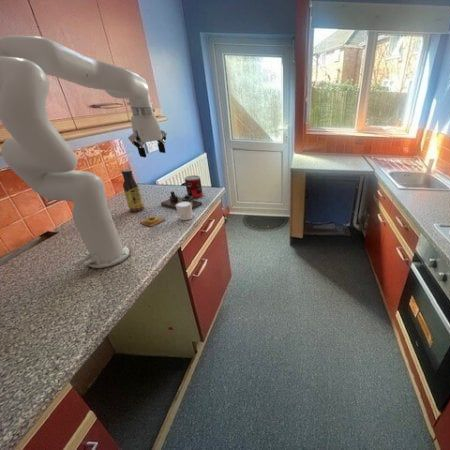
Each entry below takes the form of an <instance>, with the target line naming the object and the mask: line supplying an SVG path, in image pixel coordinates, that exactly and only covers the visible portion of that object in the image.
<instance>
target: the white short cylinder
mask: <svg viewBox="0 0 450 450" xmlns="http://www.w3.org/2000/svg"><path fill="white" fill-rule="evenodd" d="M175 206H176V209H175V210H176V212H177V214H178V217H179V220H181V221H188V220H191V219H192V218H193V210H192V205H191V202H186V201H185V202H179V203H177V204H176V205H175Z"/></svg>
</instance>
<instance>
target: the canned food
mask: <svg viewBox="0 0 450 450" xmlns="http://www.w3.org/2000/svg"><path fill="white" fill-rule="evenodd" d="M184 184H185V188H186V193H187V195H189V196H192V197H193V199H199V198H201V197H203V193H204V192H203V186H202V181H201V176H199V175H196V174H195V175H188V176H185V177H184Z"/></svg>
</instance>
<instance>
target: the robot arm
mask: <svg viewBox="0 0 450 450" xmlns="http://www.w3.org/2000/svg"><path fill="white" fill-rule="evenodd" d="M48 76H51V77H55V78H58V79H61V80H64V81H67V82H70V83H72V84H76V85H78V86H82V87H84V88H88V89H92V90H101V91H105V92H106V94H107V95H108V96H110V97H113V98H115V99H123V100H124V99H125V100H128V103H129V105H130V110H131V113H132V115H131V116H130V123H131V129H132V133H131V134H130V135H129V136H128V137H127V139H128V140H129V141H130V143H131V144H132V145H133V146H135V148H137V151H138V152H137V153H138V155H139V157H140V158H147V153H146V149H145V147H143V146H144V145H145V143H149V142H157V147H158V152H159V153H162V154H166V153H167V151H166V148H165V143H166V140H167V134H168V133H167V132H166V131H164V130H162V129H161V127H160V124H159V121H158V119H157V116H156V115H155V112H156V110H155V108H153V104H152V100H151V95H150V89H149V85H148V83H147V80H146V79H145V78H144V77H142V76H141V75H139V74H138V73H135V72H133V71H131V70H129V69H127V68H124V67H122V66H121V67H120V66H117V65H114V64H111V63H108V62H105V61H101V60H98V59H94V58H91V57H89V56H86V55H84V54H82V53H79V52H77V51H76V50H74V49H71V48H69V47H67V46H65V45H63V44H61V43H58V42H57V41H54V40H52V39H49V38H47V37H45V36H44V37H43V36H39V35H5V36H2V37H0V122H1V124H2V126H3V127H4V129H5V130H6V131H7V132H8V133H9V135H10V136H11V137H9V138H7V139H6V140H4V142H3V143H2V145H1V149H0V152H1V153H0V154H1V156H2V158H3V161H4V163H5V164H6V165H7V167H9V168H10V169H11V170H12V171H13V172H14V173H15V175H17V176H18V177H19V178H20V179H21V180H22V181H23V182H24V183H25V184H26V185H27V186H28V187H30V189H32V190H33V191H34V192H35V193H36V194H38V195H39V196H41V197H42V198H44V199H46V200H50V201H51V200H52V201H60V202H61V201H62V202H71V203H72V210H71V212H72V213H71V215H72V220H73V222H74V224H75V226H76V229H77V230H78V232H79V234H80V237H81V239H82V242H83V244H84V246H85V248H86V251H85V252H84V255H83V256H82V257H81V258H79V259H77V260H75V261H73V262H72V264H73V266H74V267H76V268H78V267H80V266H81V265H83V266H84V267H87V266H88V267H90V268H93V269H94V268H95V269H103V268H109V267H112V266H115V265H117V264H120V263H122V262H123V261H125V260H126V259H127V258H128V257H129V256H130V253H131V251H130V249H129V247H128V246H125V245H123V244H122V241H121V238H120V235H119V232H118V230H117V227H116V225H115V221H114V219H113V216H112V214H111V211H110V208H109V205H108V201H107V197H106V188H105V184H104V181H103V179H102V178H101V177H100V176H99V175H97V174H95V173H93V172H90V171H87V170H76V168H77V166H78V162H79V161H78V158H77V155H76V154H75V152H74V150H73V149H72V148H71V146H70V145H69V144H68V143H67V141H66V140H65V139H64V138H63V136H62V135H61V134H60V132H59V131H58V130H57V129H56V127H55V126H54V124H53V123H52V121H51V120H50V118H49V116H48V113H47V108H46V106H47V98H48V94H49V91H50V82H49V78H48Z"/></svg>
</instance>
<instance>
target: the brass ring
mask: <svg viewBox="0 0 450 450" xmlns="http://www.w3.org/2000/svg"><path fill="white" fill-rule="evenodd" d="M158 218H159V217H158V216H149V217H147V218H145V220H144V221H145V222H146V223H148V224H151V223H156V222H158V220H159V219H158Z"/></svg>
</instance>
